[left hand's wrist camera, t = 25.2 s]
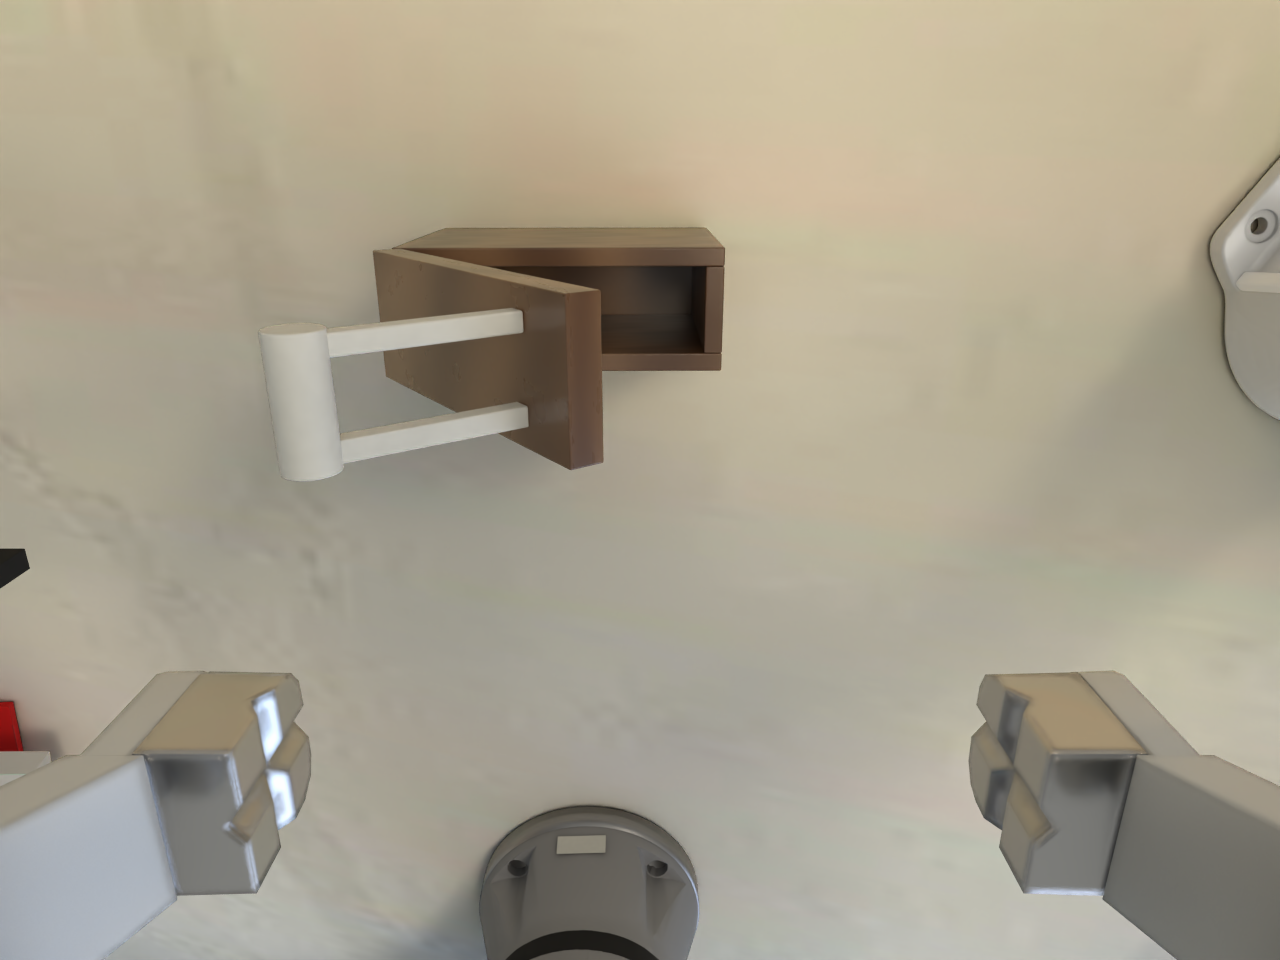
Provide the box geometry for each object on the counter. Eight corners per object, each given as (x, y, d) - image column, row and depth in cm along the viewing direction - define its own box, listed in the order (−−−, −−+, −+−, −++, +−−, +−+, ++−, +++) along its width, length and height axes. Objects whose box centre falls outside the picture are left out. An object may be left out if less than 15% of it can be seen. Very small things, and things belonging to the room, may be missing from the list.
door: (601, 289, 25) (286, 322, 20) (603, 463, 27) (315, 531, 22) (401, 248, 36) (167, 263, 31) (412, 373, 38) (193, 405, 33)
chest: (706, 227, 46) (725, 247, 36) (704, 326, 48) (721, 370, 38) (444, 227, 46) (391, 247, 36) (452, 326, 48) (403, 371, 38)
